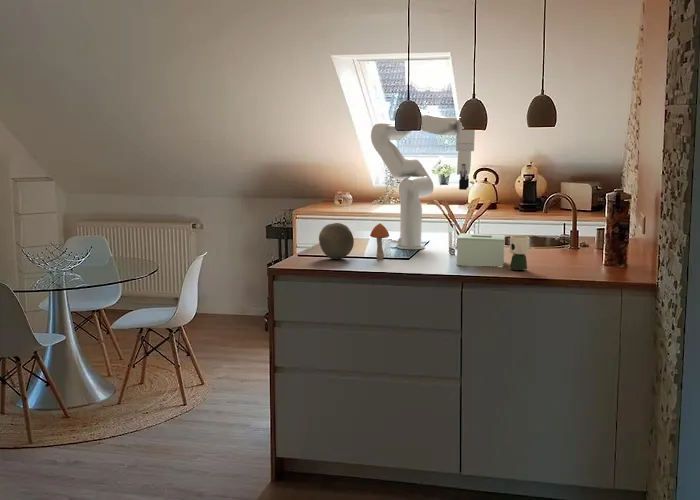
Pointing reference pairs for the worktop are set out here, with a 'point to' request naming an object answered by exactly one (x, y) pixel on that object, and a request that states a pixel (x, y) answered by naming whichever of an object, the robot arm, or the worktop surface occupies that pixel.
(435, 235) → the worktop surface
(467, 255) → the coin box
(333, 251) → the cantaloupe
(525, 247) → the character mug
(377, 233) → the mushroom
